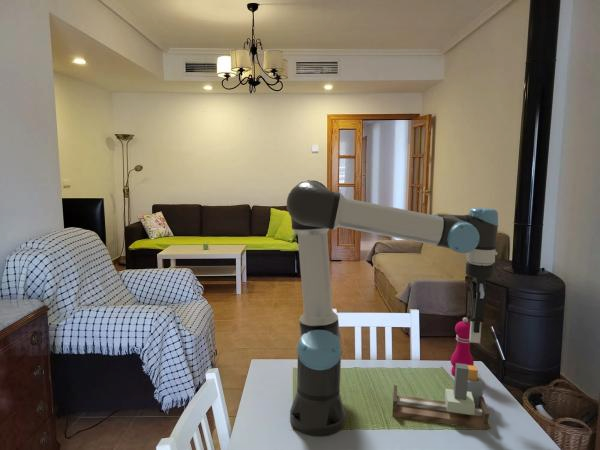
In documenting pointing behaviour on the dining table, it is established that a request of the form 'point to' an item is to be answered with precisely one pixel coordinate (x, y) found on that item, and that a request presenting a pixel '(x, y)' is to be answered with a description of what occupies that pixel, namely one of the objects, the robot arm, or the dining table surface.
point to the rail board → (438, 411)
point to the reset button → (472, 372)
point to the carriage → (460, 393)
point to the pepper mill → (462, 345)
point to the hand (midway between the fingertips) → (474, 341)
